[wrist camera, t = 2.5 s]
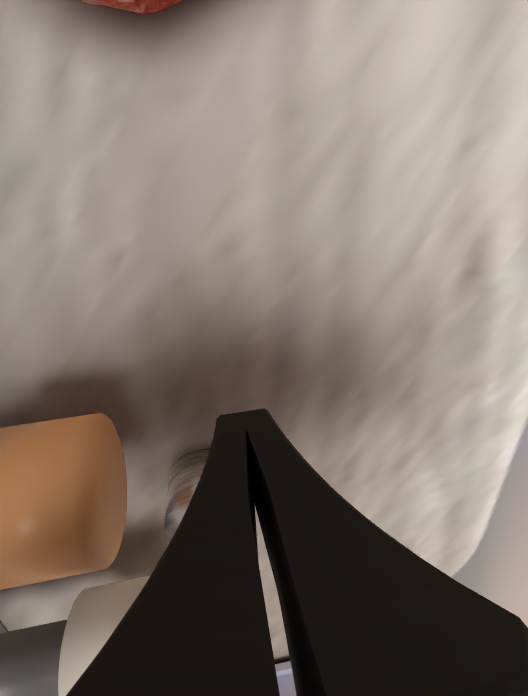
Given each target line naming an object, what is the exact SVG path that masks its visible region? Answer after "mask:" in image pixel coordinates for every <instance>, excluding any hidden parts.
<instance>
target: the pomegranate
mask: <svg viewBox="0 0 528 696" xmlns="http://www.w3.org/2000/svg"><path fill="white" fill-rule="evenodd" d="M81 1H83V2H85V3H87V4H90V5H106V6H110V7H113V8H117V9H124V10H129V11H133V12H138V13H143V14H149V13H153V12H158V11H161V10H165V9H167V8H168V7H170V6H171V5H174V4H176V3H178V2H180V1H182V0H81Z"/></svg>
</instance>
